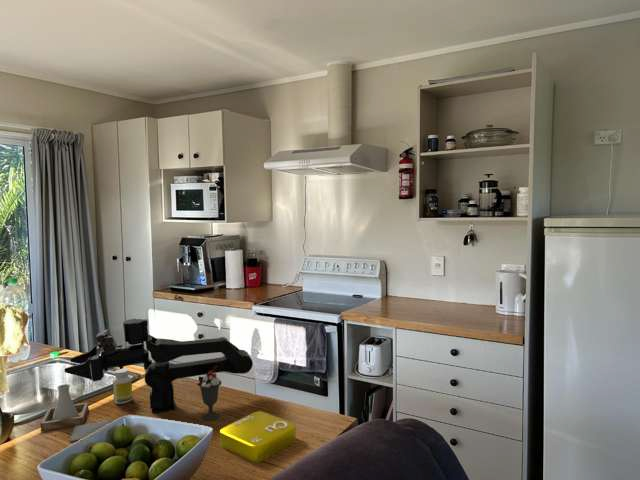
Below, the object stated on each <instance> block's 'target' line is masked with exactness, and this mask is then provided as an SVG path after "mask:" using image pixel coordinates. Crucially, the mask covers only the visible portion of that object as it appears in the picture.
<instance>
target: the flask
mask: <svg viewBox="0 0 640 480" xmlns="http://www.w3.org/2000/svg"><path fill="white" fill-rule="evenodd" d="M70 387H71V386H70V384H68V383H65V384H61V385H57V390H58V397H57V398H58V399H57V402H56V406H55V407H56V408H55V411H54V414H53V415H52V416H51V417H52V418H51V421H54V420H60V419H67V418H74V417H80V414H79V413H78V412H79V411H78V412H77V410H76V408H75V406H74V401H73V400H72V398H71V395H70Z"/></svg>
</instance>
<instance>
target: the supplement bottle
mask: <svg viewBox="0 0 640 480" xmlns="http://www.w3.org/2000/svg"><path fill="white" fill-rule="evenodd" d="M129 374H130V372H129V368H123V369H116V370H115V371H114V376H115V377H114V378H113V380H112V386H113V390H112V391H113V402H114V404H117V405H120V404H122V405H123V404H126V403H129V402H131V401H132V400H133V385H132V384H133V383H132V381H133V380H132V376H130V375H129Z"/></svg>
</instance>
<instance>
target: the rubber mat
mask: <svg viewBox="0 0 640 480" xmlns="http://www.w3.org/2000/svg"><path fill="white" fill-rule="evenodd" d="M108 423H110V424H111V420H104V421H97V422H90V423H83V424H81V425H74V428H73V431H72V433H71V436H70V439H69V443H73V442H79V441H78V440H80V439H82V438H84V437H86V436H88V435H89V434H91V433H93V432H95V431H96V430H98V429H100V428H102V427H103V426H105V425H106V424H108ZM80 441H81V440H80Z"/></svg>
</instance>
